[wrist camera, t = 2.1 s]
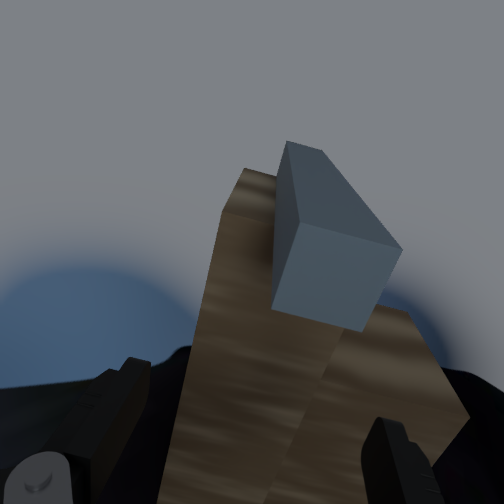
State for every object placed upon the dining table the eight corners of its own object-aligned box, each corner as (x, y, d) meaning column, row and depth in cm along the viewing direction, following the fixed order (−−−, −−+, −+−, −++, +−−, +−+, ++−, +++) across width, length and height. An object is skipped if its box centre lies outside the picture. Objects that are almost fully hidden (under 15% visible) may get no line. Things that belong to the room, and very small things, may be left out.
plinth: (190, 393, 46) (244, 167, 33) (341, 430, 47) (455, 225, 34) (156, 504, 34) (222, 211, 20) (364, 552, 35) (560, 301, 21)
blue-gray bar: (276, 176, 33) (286, 140, 32) (310, 185, 33) (322, 150, 32) (270, 309, 12) (300, 222, 11) (362, 332, 12) (402, 249, 11)
